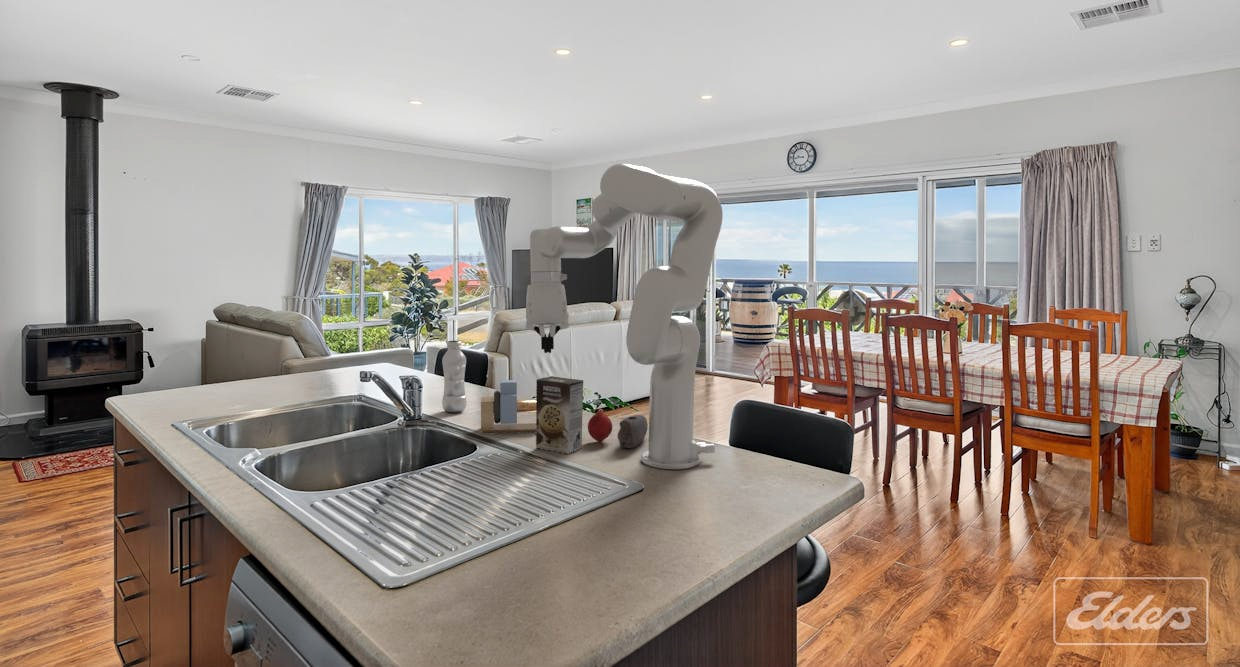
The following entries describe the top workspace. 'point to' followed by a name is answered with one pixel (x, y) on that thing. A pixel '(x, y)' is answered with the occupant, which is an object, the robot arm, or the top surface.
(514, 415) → the blue-grey stepped block
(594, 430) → the onion
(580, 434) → the coffee box
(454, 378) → the plastic bottle
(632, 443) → the perforated stone tool
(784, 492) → the top surface
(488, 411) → the pipe rig
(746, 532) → the top surface
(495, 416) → the o ring
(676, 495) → the top surface
